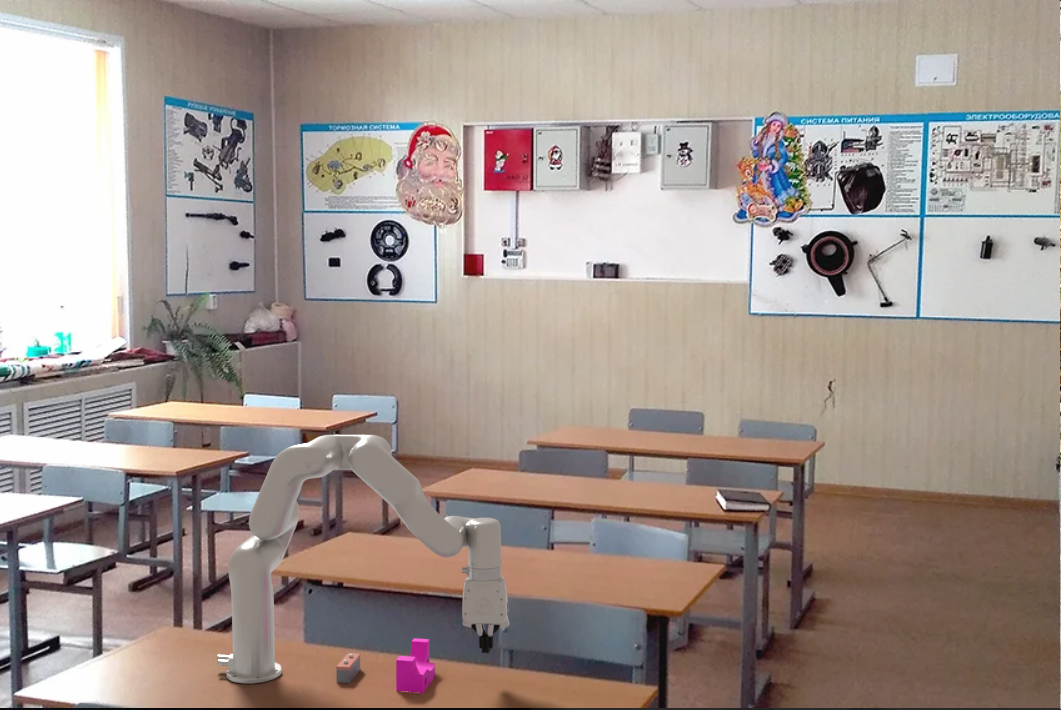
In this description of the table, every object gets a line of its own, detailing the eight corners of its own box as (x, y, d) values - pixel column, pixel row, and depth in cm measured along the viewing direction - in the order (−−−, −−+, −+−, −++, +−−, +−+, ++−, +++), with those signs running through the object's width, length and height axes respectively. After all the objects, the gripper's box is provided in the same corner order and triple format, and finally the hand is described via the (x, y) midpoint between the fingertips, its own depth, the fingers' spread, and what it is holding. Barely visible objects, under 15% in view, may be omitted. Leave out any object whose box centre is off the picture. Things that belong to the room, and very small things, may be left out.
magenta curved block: (423, 694, 260) (423, 661, 259) (396, 692, 261) (396, 660, 260) (439, 670, 275) (439, 639, 274) (414, 669, 276) (414, 638, 275)
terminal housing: (336, 682, 266) (336, 663, 266) (348, 668, 275) (347, 650, 275) (349, 683, 266) (349, 664, 265) (360, 669, 275) (360, 651, 274)
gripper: (449, 576, 262) (451, 655, 263) (514, 578, 260) (516, 658, 261) (456, 567, 269) (457, 644, 271) (519, 569, 267) (521, 646, 269)
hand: (486, 651), depth 266 cm, fingers closed
